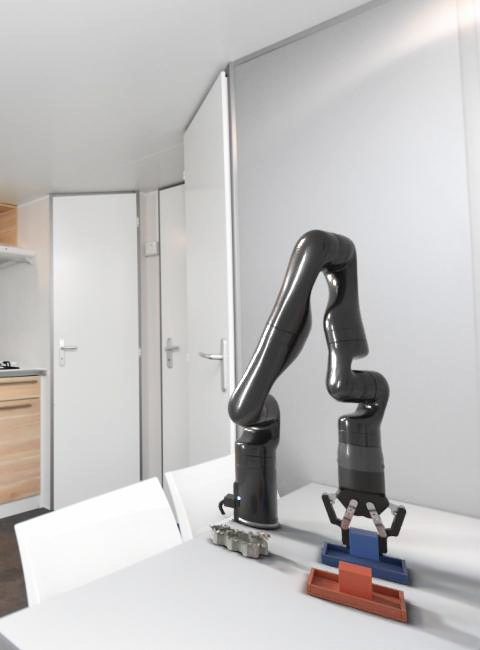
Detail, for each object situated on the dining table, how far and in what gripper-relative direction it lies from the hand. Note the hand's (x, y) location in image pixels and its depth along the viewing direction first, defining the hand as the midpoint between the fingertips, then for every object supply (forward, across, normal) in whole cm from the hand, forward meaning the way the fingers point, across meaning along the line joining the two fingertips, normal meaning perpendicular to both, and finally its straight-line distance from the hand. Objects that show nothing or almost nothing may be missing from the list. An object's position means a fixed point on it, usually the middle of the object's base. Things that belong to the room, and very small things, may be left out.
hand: (364, 550), depth 97 cm
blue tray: (+3, 0, 0) cm, 3 cm away
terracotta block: (+3, +1, +18) cm, 18 cm away
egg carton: (+3, +21, +8) cm, 23 cm away
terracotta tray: (+3, +1, +18) cm, 18 cm away
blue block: (+1, 0, 0) cm, 1 cm away
